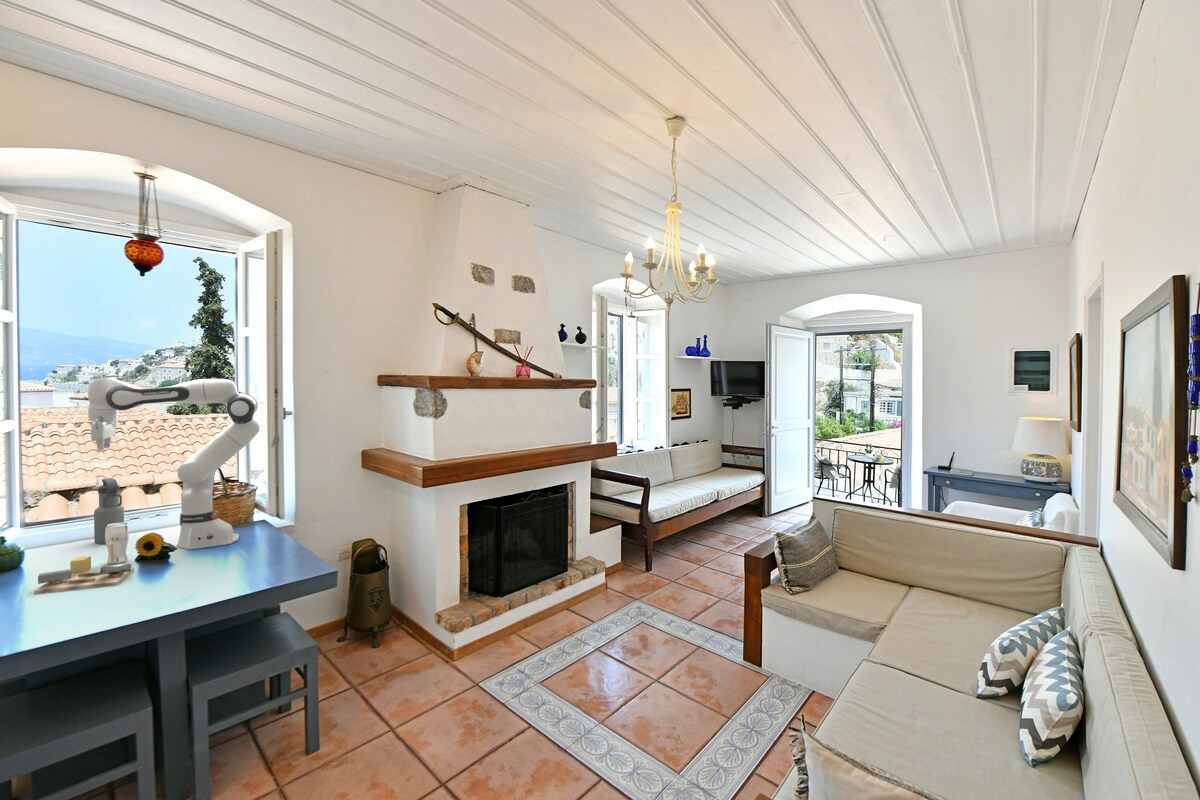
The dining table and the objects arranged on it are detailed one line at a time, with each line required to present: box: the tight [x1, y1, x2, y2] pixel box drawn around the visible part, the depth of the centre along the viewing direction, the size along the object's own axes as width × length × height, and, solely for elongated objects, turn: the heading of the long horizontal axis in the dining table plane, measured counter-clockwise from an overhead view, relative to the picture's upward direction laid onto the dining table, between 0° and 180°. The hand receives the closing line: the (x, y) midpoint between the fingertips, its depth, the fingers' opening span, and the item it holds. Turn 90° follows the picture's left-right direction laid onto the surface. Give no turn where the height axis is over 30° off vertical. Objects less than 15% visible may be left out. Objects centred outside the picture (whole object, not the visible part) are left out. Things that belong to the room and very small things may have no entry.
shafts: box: [37, 563, 132, 585], centre depth 187 cm, size 24×5×3 cm, turn 114°
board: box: [33, 568, 134, 595], centre depth 188 cm, size 22×14×2 cm, turn 114°
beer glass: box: [105, 522, 130, 565], centre depth 208 cm, size 7×7×15 cm
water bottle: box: [93, 477, 125, 545], centre depth 232 cm, size 10×10×28 cm
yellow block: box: [70, 555, 92, 574], centre depth 198 cm, size 5×4×5 cm
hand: (103, 449), depth 216 cm, fingers open, 8 cm apart
